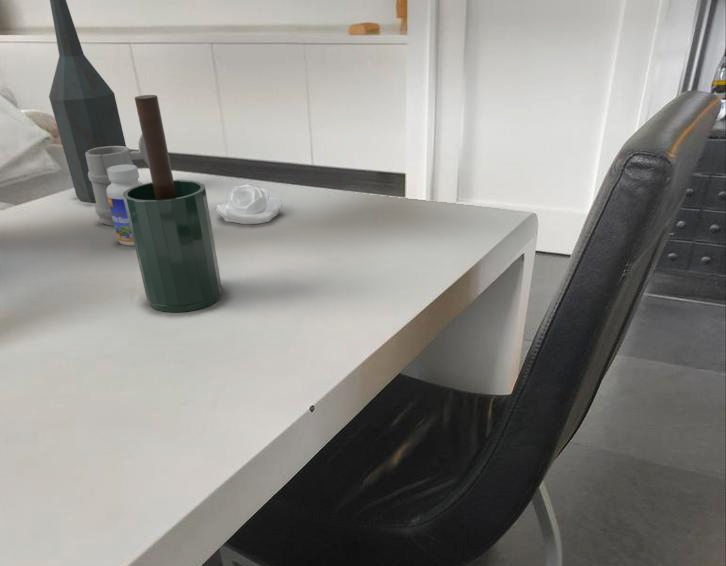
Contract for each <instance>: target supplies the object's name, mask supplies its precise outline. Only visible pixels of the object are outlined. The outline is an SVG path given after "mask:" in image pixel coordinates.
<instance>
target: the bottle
mask: <svg viewBox="0 0 726 566" xmlns="http://www.w3.org/2000/svg"><path fill="white" fill-rule="evenodd" d="M49 3H50V9H51V15H52V20H53V26H54V27H53V28H54V33H55V36H56V37H55V38H56V44H57V51H58V60H57V63H56V68H55V71H54V75H53V79H52V82H51V87H50V89H49V90H50V91H49V95H48V98H49V102H50V105H51V109H52V113H53V116H54V120H55V123H56V127H57V130H58V134H59V138H60V142H61V145H62V149H63V152H64V156H65V161H66V163H67V166H68V170H69V175H70V178H71V181H72V184H73V185H72V186H73V189H74V193H75V196H76V197H77V199H79V200H80V202H87V203H93V204H94V203H96V200H95V196H94V191H93V187H92V182H91V181H90V180H89V177H88V172H89V169H88V164H87V160H86V155H85V153H86V152H88V151H89V150H91V149H94V148H99V147H107V146H112V147H113V146H124V147H127V144H126V139H125V135H124V131H123V126H122V121H121V117H120V113H119V109H118V105H117V100H116V95H115V92H114V91H113V90H112V88H111V86H109V85H108V84H107V82H106V81H105V79H104V78H103V76H102V75H101V74H100V73H99V72H98V71H97V69H96V68H95V66H93V64H92V63H91V61H90V60H89V59H88V58H87V56H86V55H85V54H84V50H83V47H82V45H81V42H80V38H79V35H78V32H77V30H76V27H75V24H74V19H73V17H72V15H71V11H70V9H69V5H68V2H67V0H49Z"/></svg>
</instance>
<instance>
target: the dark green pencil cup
mask: <svg viewBox="0 0 726 566" xmlns="http://www.w3.org/2000/svg"><path fill="white" fill-rule="evenodd" d="M173 181H174V186H175V191H176V197H177V198H173V199H165V200H156V198H155V193H154V188H153V184H152V181H151V182H146V183H143V184H141V185H138V186H134V187H132V188H130V189H127V190H126V191H125V192H124V193H123V199H124V203H125V208H126V212H127V216H128V220H129V225H130V229H131V233H132V237H133V241H134V246H133V247H134V249H135V254H136V259H137V262H138V263H137V264H138V266H139V267H138V268H139V271H140V275H141V279H142V284H143V288H144V291H145V297H146V298H147V303H148V305H149V306H150V307H151V308H152V309H154V310H156V311H161V312H165V313H185V312H193V311H197V310H198V311H199V310H201V309H205V308H207V307H210V306H213V305H214V304H215V303H217V302H218V301H219V300H221V298H222V297H223V287H222V281H221V275H220V268H219V263H218V257H217V250H216V244H215V239H214V233H213V228H212V220H211V214H210V208H209V203H208V197H207V191H206V186H205V184H203V183H202V182H200V181H196V180H190V179H188V180H187V179H173Z"/></svg>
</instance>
